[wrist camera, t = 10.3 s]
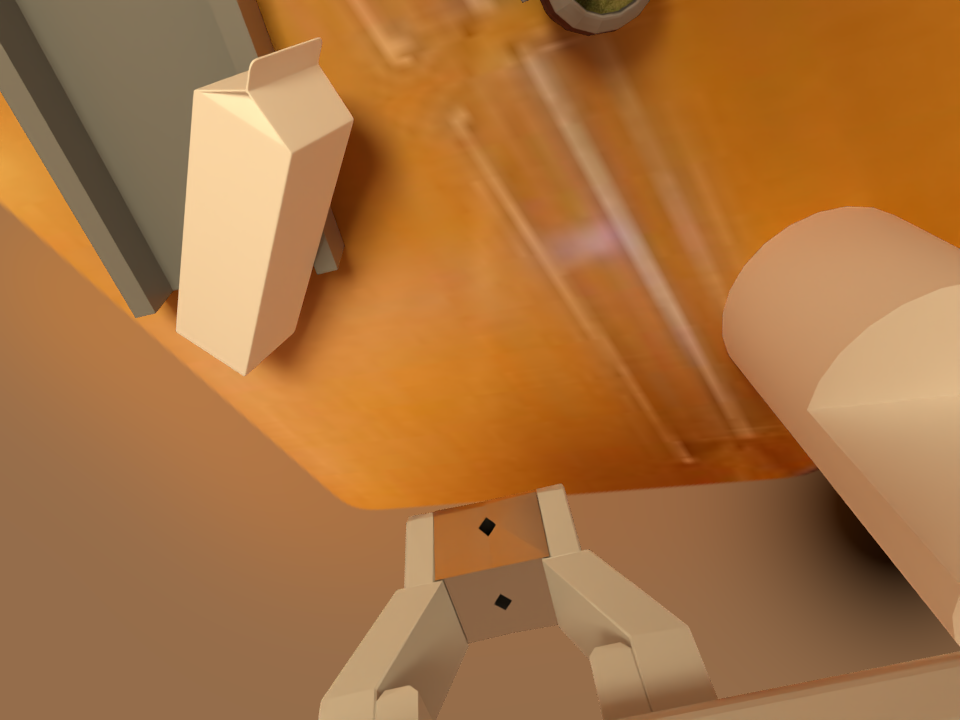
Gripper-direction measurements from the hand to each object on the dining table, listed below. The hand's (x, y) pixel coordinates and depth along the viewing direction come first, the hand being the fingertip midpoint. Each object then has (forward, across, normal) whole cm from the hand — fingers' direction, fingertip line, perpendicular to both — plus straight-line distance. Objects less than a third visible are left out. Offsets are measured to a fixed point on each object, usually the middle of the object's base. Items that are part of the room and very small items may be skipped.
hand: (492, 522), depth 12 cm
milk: (+33, +18, +10) cm, 39 cm away
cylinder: (+37, -28, +22) cm, 52 cm away
